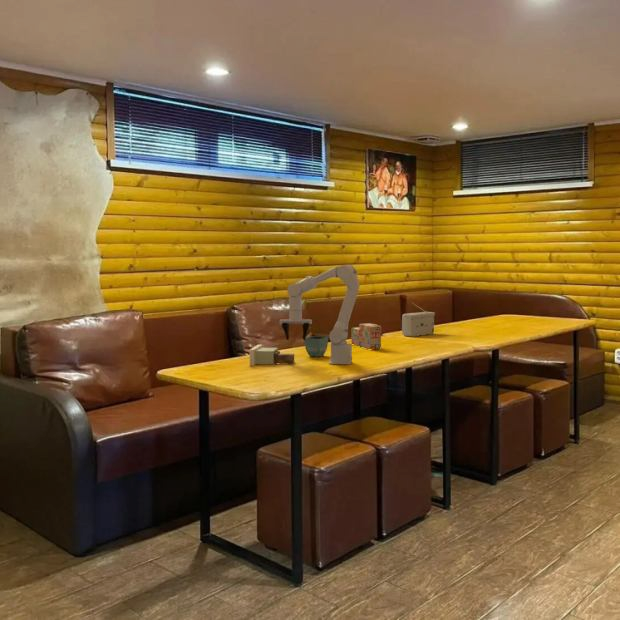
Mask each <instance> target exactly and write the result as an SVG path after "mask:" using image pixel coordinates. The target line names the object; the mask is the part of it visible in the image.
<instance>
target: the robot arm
mask: <svg viewBox="0 0 620 620" xmlns="http://www.w3.org/2000/svg"><path fill="white" fill-rule="evenodd" d="M331 278H336V279H337V278H339V280H341V281H342V282H343V283H344V285H345V287H346V292H345V295H344V297H343V301H342V305H341V307H340V310H339V314H338V317H337V320H336V323H335V324H334V326H333V328H332V330H331V331H330V333H329V335H328V339H329V340H330V361H329V363H328V364H329V365H351V364H352V362H353V354H352V353H353V352H352V350H353V348H352V346H353V345H352V343H347V338H348V336H349V331H348V329H349V322H350V319H351V317H352V316H351V315H352V312H353V309H354V306H355V303H356V300H357V297H358V293H359V290H360V286H361V285H360V282H359V281H360V280H359V277H358V271H357V269H356V268H355V266H353V265H352V264H343V265H342V264H341V265H339V266H335V267H332V268H330V269H328V270H326V271H324V272H322V273H320V274H318V275H317V276H311V275H307V276H305V278H303V279H301V280H297V281H295V283H291V284H290V285H288V287H287V289H286V290H287V291H286V292H287V294H288V295H289V296H288V297H289V299H288V305H289V306H288V307H289V308H288V310H289V318H287V319H286V318H285V319H284V318H283V319H281V318H280V319H279V325H281V327H282V329H283V331H284V334H285V338H286V341H288V340H289V339H290V333H289V331H290V330H289V329H290V325H302V333H303V334H302V340H303V341H304V340H305V338H307V333H308V329H309V328H310V326H311V325H312V324H313V322H312V321H313V320H312V319H308V318H307V319H306V318H303V299H302V298H303V296H302V295H303V294H305V293H307V292H310V291H311V290H314V289H316V288H317V286H318V284H320V283H322V282H325V281H327V280H329V279H331Z"/></svg>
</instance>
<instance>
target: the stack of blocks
mask: <svg viewBox="0 0 620 620" xmlns="http://www.w3.org/2000/svg"><path fill="white" fill-rule="evenodd" d="M350 328H351V329H350V330H351V331H350V332H351V335H350V336H351V338H350V339H351V345H352V344H354V345H356V346H355V347H357V346H360V347H359V348H361V347H364V348H367V349H366V350H368V349H380V348H381V349H382V325H379V324H376V323H359V326H357V327H350ZM354 345H353V346H354ZM364 348H363V349H364ZM381 349H380V350H381Z"/></svg>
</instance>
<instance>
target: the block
mask: <svg viewBox="0 0 620 620" xmlns="http://www.w3.org/2000/svg"><path fill="white" fill-rule="evenodd" d="M277 351H279V348H278V347H262V348H260V349H258V350H256V365H275V364H274V353H275V352H277Z"/></svg>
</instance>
